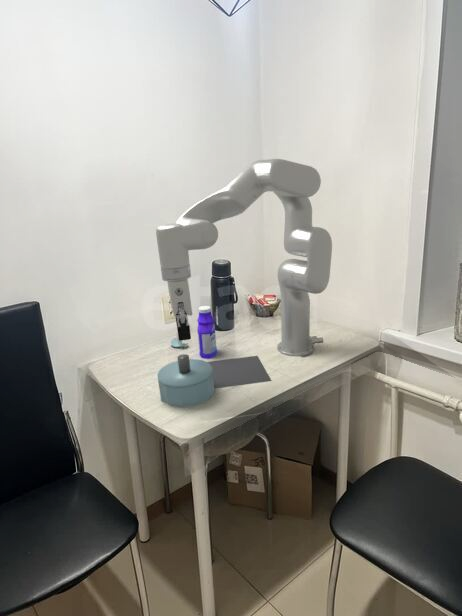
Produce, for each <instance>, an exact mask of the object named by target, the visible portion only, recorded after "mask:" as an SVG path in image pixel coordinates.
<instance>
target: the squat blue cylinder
mask: <svg viewBox="0 0 462 616" xmlns="http://www.w3.org/2000/svg"><path fill="white" fill-rule="evenodd" d="M176 358H177V360H176V361H173V362H170V363H168V364H166V365H164V366H163V367H161V368H160V369H159V370H158V373H157V381H158V388H159V394H160V400H161V402H163V403H165V404H166V405H169V406H175V407H179V408H184V407H193V406H197V405H200V404H202V403H205V402H207V401H208V400H210V399H211V397H212V396H213V395H214V393H215V391H216V390H215V389H216V388H215V389H214V380H213V372H212V366H211V365H210V364H209V363H208V362H209V361H205V360H202V359H196V358H195V359H194V358H190V356H189V354H179V355H178V356H177V357H176Z"/></svg>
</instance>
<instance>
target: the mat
mask: <svg viewBox="0 0 462 616" xmlns="http://www.w3.org/2000/svg"><path fill="white" fill-rule="evenodd" d="M207 362H208V363H209V364H210V365H211V366H212V372H213V380H214V389H220V388H228V387H237V386H243V385H251V384H258V383H259V384H260V383H266V382H272V381H273V380H272V378H271V377H270V375H269V373H268V371H267V370H266V368H265V366H264V364H263V362H262V361H261V359H260V358H259V356H258V355H253V356H252V355H251V356H244V357H237V358H227V359H219V360H213V361H212V360H211V361H207Z"/></svg>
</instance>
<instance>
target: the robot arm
mask: <svg viewBox="0 0 462 616" xmlns="http://www.w3.org/2000/svg"><path fill="white" fill-rule="evenodd" d="M321 182H322V179H321V175H320V173H319V172H318V170H317V169H316V168H314V167H313V166H311V165H308V164H303V163H298V162H295V161H291V160H290V161H289V160H287V159H281V158H272V159H271V158H270V159H268V158H267V159H259V160H255V161H252V162H251V163H249V164H248V165H247V166H246V167H245V168H244V169H243V170H242V171H240V172H239V174H237V175H236V176H235V177H234V178H233V179H232V180H231V181H229V182H228V183H227V184H226V185H225V186H224V187H223V188H221V189H220V190H217V191H216V192H214V193H212V194H210V195H209V196H207V197H205V198H204V199H201V200H200V201H198V202H197V203H195V204H193V205H192V206H191V207H189V208H188V209H187V210H186V211H185V212H183V214H181V216H180V217H179V218H178V219H177V220H176V221H175V222H174V223H166V224H165V223H164V224H161V225H159V226H158V227H157V228H156V229H155V235H156V236H155V237H156V243H157V249H158V257H159V264H160V272H161V280H163V281H164V282H167V288H168V294H169V299H170V300H169V301H170V305H171V310H172V313H173V317H174V318H175V322H176V329H177V332H178V338H179V341H189V340H191V339H192V336H191V335H192V334H191V326H190V323H189V318H188V316H190V317H192V316H193V309H192V301H191V292H190V285H189V281H188V279H190V278H191V277H192V273H191V264H190V253H189V251H193V250H194V251H195V250H206V249H209V248H211V247H213V246H214V245H215V244H216V243H217V241H218V237H219V231H218V228H217V226H216V225H215V223H217V222H219V221H221V220H226V219H230V218H233V217H236V216H239V215H241V214H243V213H245V211H246V210H248V208H249V207H250V206H251V205H253V204H254V203H255V202H256V201H257V200H258V199H259V198H260V197H261V196H263V194H264V193H266V192H267V193H268V192H273V194H274V195H276V197H277V198H278V199H279V200H280V202H281V204H282V206H283V209H284V210H283V211H284V228H283V229H284V231H283V247H284V250H285V252H287V253H288V254H289V255H292V256H297V257H303V258H306V260H304V259H297V258H289V259H286V260H284V261H283V262H281V264H279V267H278V269H277V281H278V286H279V290H280V291H279V292H280V306H281V307H280V310H281V311H280V312H281V313H280V315H281V316H280V317H281V320H280V321H281V323H280V324H281V325H280V326H281V341H280V342H279V343H278V344H277V347H276V349H277V352H279V353H280V354H281V355H285V356H289V357H305V356H308V355H311V354H313V352H314V351H315V347H314V345H315V344H323V343H324V338H323V336H322V337H318V336H317V335H312V336H310V335H311V334H310V327H311V326H310V325H311V323H310V322H311V321H310V320H311V319H310V318H311V317H310V316H311V300H310V295H309V293H310V294H315V295H317V294H321V293H323V292H324V291H325V290H326V289H327V287H328V285H329V281H330V277H331V276H330V275H331V267H332V266H331V265H332V255H333V254H332V252H333V240H332V236H331V235H330V233H329V231H328V230H327V229H325V228H323V227H320V226H319V227H318V226H313V207H312V203H311V200H310V197H313V196H314V195H316V194H317V193H318V191H319V190H320V188H321Z"/></svg>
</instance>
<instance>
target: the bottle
mask: <svg viewBox="0 0 462 616" xmlns="http://www.w3.org/2000/svg"><path fill="white" fill-rule="evenodd" d="M214 321H215V318H214V316H213V315H212V307H211V306H209V305H201V306H199V307H198V318H197V319H196V322H197V329H196V330H197V341H198V352H199V357H200V358H203V359H211V358H213V357H215V356H216V354H217V351H218V349H217V339H216V338H217V337H216V326H215V322H214Z"/></svg>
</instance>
